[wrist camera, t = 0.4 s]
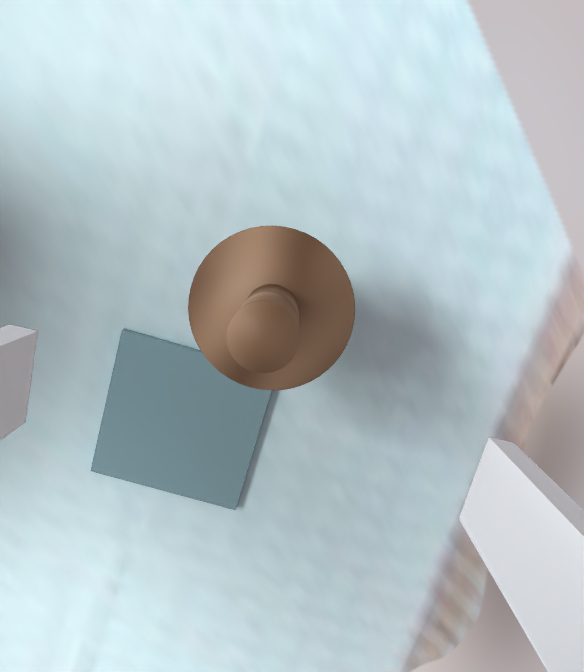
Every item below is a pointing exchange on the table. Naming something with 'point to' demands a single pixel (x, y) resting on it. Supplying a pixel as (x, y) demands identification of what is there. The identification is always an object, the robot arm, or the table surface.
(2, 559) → the table surface
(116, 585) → the table surface
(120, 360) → the mat
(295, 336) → the lid
